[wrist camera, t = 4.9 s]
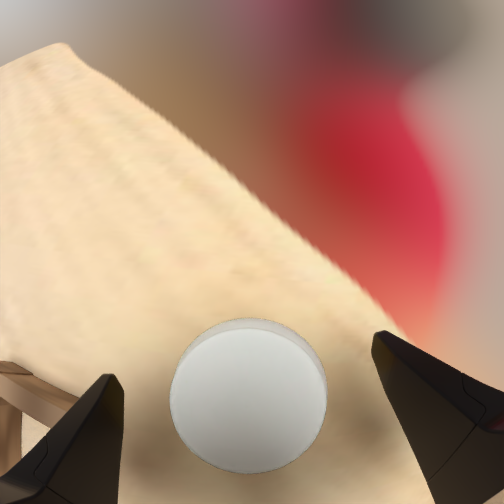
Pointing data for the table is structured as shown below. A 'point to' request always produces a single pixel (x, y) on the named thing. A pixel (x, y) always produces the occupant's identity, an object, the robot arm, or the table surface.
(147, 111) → the table surface
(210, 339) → the supplement bottle
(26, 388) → the v block
